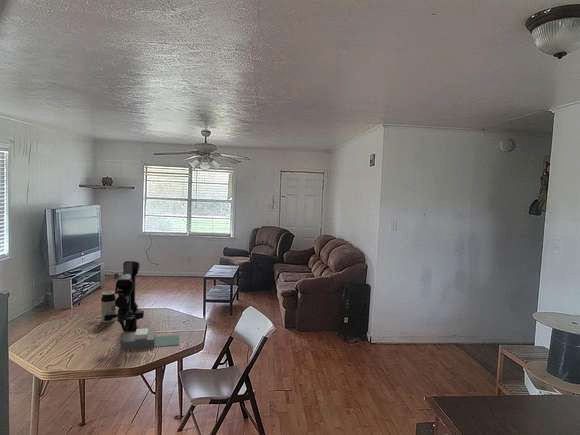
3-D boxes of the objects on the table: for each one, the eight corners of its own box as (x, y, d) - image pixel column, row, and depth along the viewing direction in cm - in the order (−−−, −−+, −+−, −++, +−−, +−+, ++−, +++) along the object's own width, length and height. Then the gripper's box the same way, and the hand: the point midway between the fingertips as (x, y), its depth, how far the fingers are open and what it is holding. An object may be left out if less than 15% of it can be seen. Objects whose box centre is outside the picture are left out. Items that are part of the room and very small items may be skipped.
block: (136, 333, 205) (136, 329, 205) (148, 332, 207) (148, 328, 207) (134, 339, 197) (134, 335, 196) (147, 338, 198) (147, 334, 198)
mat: (156, 337, 211) (156, 336, 211) (178, 335, 214) (178, 334, 214) (155, 347, 197) (155, 346, 197) (179, 345, 201) (179, 344, 201)
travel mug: (98, 321, 233) (98, 293, 232) (110, 318, 240) (109, 290, 239) (107, 324, 230) (107, 294, 229) (118, 320, 237) (118, 292, 236)
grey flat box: (124, 340, 205) (124, 333, 205) (155, 337, 210) (155, 330, 210) (120, 349, 193) (120, 342, 193) (154, 346, 198) (154, 339, 197)
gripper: (102, 308, 188) (102, 338, 189) (142, 305, 193) (142, 335, 194) (106, 301, 198) (106, 330, 199) (144, 299, 204) (144, 328, 205)
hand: (124, 331), depth 199 cm, fingers closed
